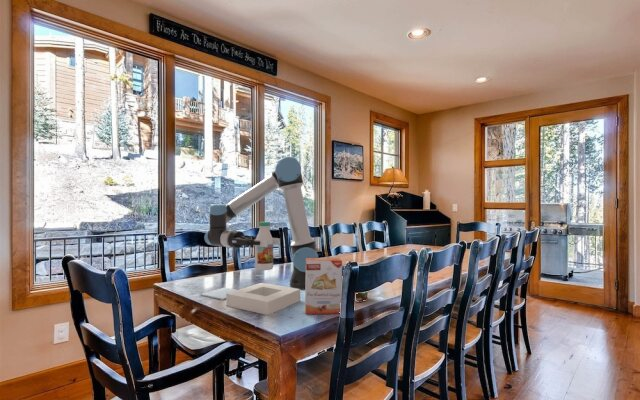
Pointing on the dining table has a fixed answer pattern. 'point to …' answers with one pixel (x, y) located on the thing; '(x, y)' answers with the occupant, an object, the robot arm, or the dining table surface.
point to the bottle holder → (263, 298)
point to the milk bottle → (264, 248)
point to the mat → (218, 293)
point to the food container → (361, 296)
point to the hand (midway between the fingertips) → (273, 242)
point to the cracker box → (323, 285)
